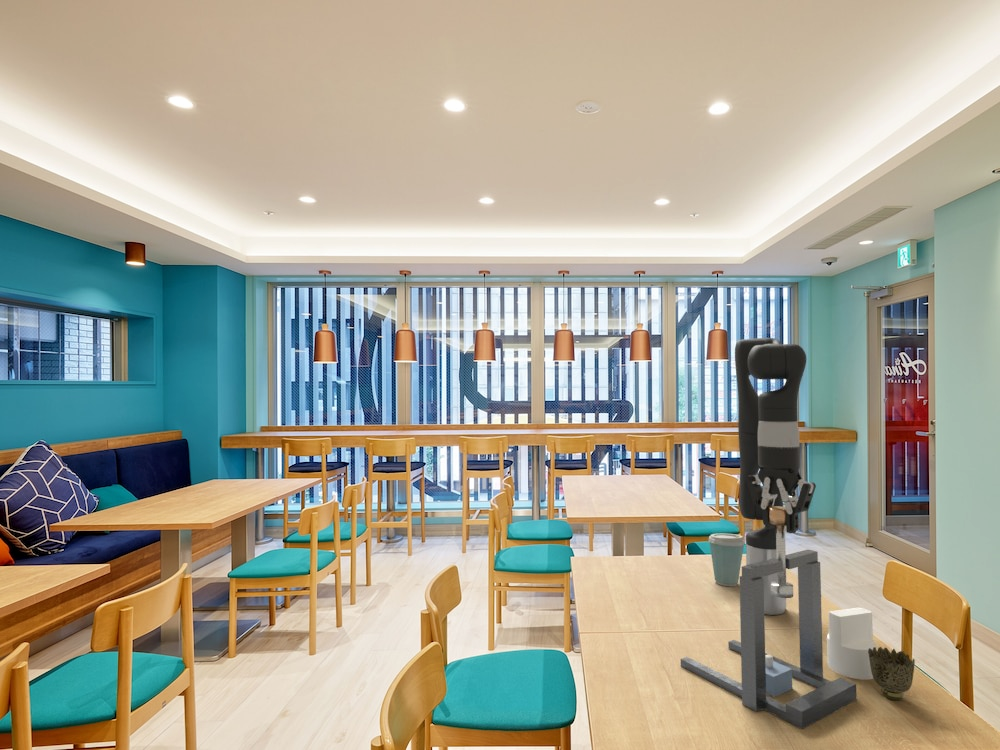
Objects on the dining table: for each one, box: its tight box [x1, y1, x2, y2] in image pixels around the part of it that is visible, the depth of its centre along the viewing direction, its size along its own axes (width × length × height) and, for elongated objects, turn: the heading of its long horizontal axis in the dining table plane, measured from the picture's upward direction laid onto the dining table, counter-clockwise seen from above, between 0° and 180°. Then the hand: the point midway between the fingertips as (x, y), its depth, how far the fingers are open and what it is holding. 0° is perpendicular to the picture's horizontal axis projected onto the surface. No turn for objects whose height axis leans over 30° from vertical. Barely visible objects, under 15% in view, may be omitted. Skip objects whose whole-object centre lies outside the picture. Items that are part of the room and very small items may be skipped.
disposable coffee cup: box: [708, 533, 746, 587], centre depth 175 cm, size 11×11×15 cm
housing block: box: [765, 654, 793, 698], centre depth 113 cm, size 6×6×6 cm
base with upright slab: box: [826, 606, 877, 681], centre depth 120 cm, size 9×9×12 cm
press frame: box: [680, 549, 858, 730], centre depth 115 cm, size 22×27×26 cm
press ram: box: [769, 506, 794, 599], centre depth 112 cm, size 4×4×17 cm
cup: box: [868, 646, 915, 701], centre depth 109 cm, size 8×7×8 cm
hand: (780, 529), depth 112 cm, fingers closed on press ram, 4 cm apart
